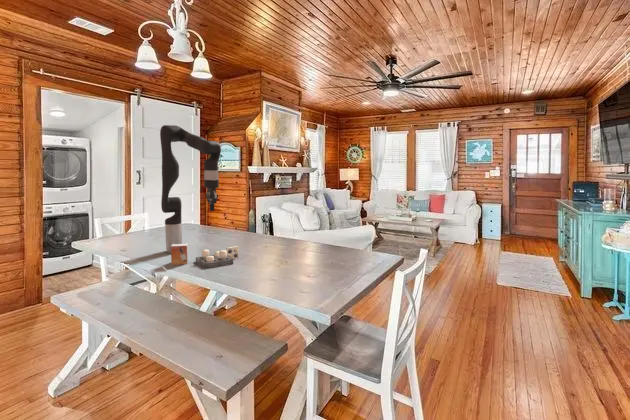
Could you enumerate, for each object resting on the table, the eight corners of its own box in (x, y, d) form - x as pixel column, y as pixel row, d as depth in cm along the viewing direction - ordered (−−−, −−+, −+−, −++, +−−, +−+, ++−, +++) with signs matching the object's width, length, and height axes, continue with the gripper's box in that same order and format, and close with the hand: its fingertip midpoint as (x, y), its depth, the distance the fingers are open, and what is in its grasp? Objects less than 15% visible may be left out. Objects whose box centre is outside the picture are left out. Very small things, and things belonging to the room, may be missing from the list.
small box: (171, 266, 178) (170, 246, 176) (172, 263, 183) (171, 243, 182) (187, 265, 180) (186, 245, 179) (188, 262, 185) (187, 243, 184)
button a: (205, 264, 178) (205, 256, 177) (212, 263, 180) (212, 255, 180) (208, 266, 175) (207, 258, 174) (215, 265, 177) (215, 256, 177)
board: (195, 262, 184) (195, 257, 184) (222, 258, 193) (222, 253, 193) (205, 269, 172) (205, 263, 172) (233, 264, 181) (233, 259, 181)
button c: (200, 258, 183) (200, 250, 183) (207, 257, 186) (207, 249, 185) (203, 259, 180) (202, 251, 180) (210, 258, 182) (210, 250, 182)
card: (225, 259, 191) (224, 247, 190) (236, 257, 195) (236, 245, 195) (227, 260, 189) (227, 248, 188) (239, 258, 193) (238, 246, 192)
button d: (213, 259, 188) (213, 251, 187) (220, 258, 190) (220, 250, 189) (216, 261, 185) (215, 253, 184) (222, 260, 187) (222, 252, 186)
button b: (218, 259, 182) (218, 251, 181) (225, 257, 184) (224, 250, 184) (221, 260, 179) (220, 252, 178) (227, 259, 181) (227, 251, 181)
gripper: (200, 178, 185) (201, 209, 187) (208, 179, 174) (209, 213, 177) (213, 178, 189) (214, 209, 192) (222, 179, 179) (223, 212, 181)
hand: (212, 210), depth 184 cm, fingers closed
